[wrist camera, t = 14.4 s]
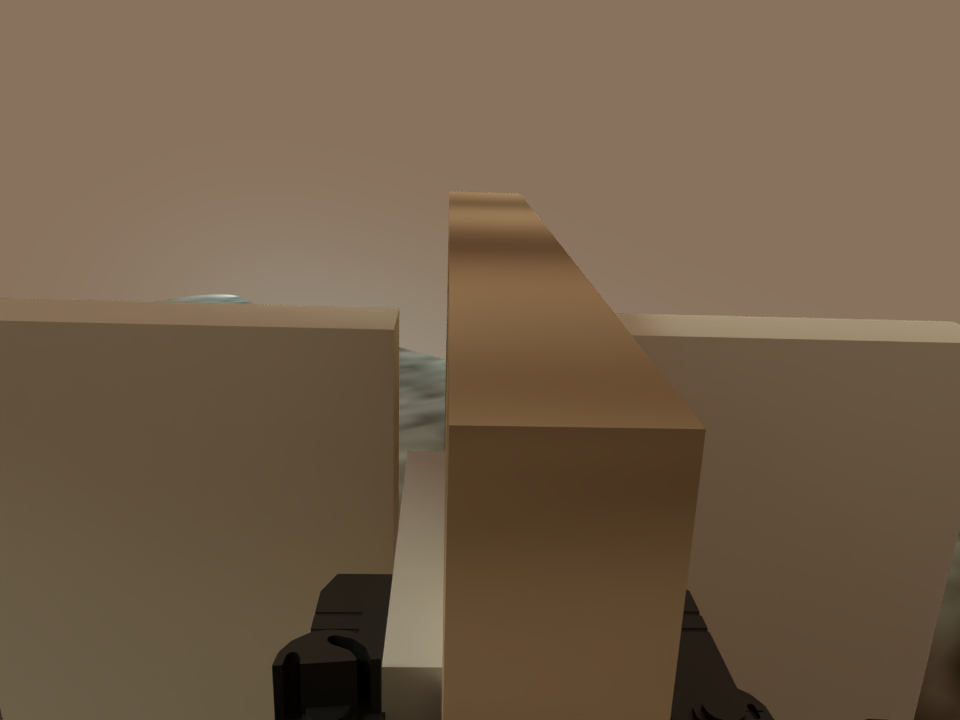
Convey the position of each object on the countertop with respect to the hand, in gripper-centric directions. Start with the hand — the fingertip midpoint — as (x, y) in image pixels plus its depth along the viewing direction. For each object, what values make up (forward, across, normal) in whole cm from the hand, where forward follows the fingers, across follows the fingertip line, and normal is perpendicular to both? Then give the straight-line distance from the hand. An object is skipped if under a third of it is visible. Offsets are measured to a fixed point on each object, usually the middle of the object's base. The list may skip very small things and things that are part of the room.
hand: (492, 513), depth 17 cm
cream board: (+4, 0, -11) cm, 12 cm away
